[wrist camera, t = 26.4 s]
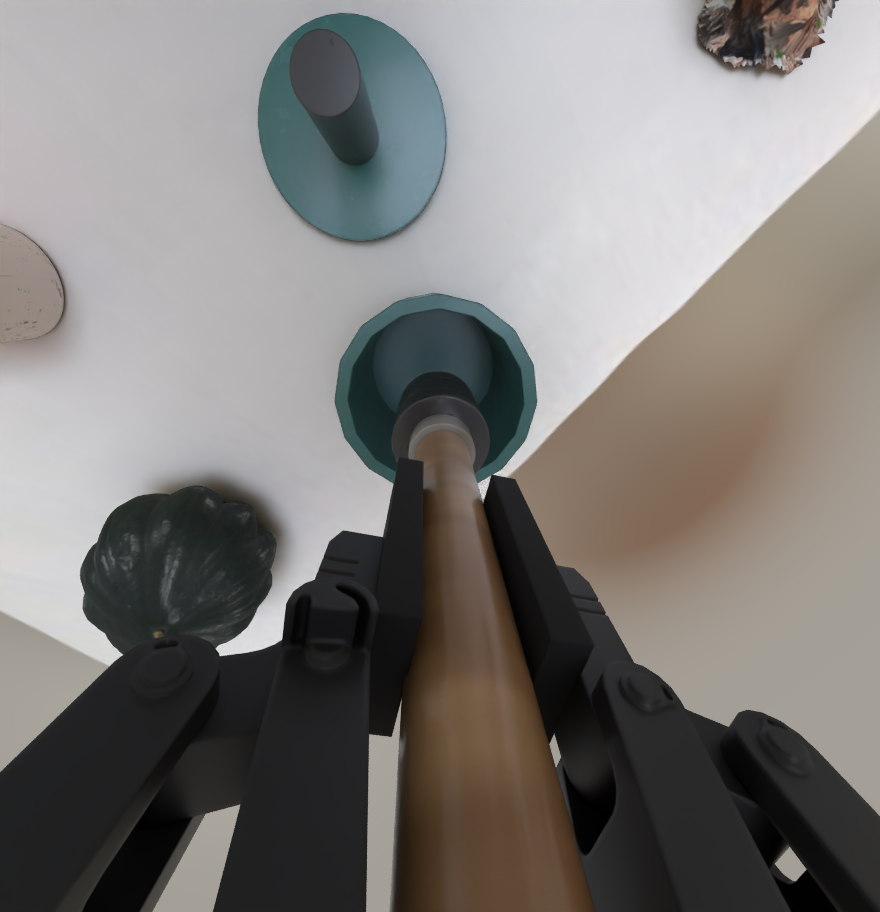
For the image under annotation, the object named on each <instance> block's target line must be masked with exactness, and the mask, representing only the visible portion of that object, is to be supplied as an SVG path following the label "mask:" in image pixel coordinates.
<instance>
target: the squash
mask: <svg viewBox="0 0 880 912" xmlns="http://www.w3.org/2000/svg"><path fill="white" fill-rule="evenodd" d="M276 544H277V543H276V538H275V537H274V535H273V534H272V533H271V532H269V531H268V530H266V529H264V528H261V527H257V517H256V513H255V511H254V509H253V508H252V507H251V506H249V505H247V504H244V503H237V502H228V503H222V502H221V500H220V498H219V496H218V495H217V494H216V493H215V492H213V491H212V490H210V489H208V488H205V487H202V486H190V487H186V488H184V489H181V490H179V491H177V492H175V493H173V494H171V495H168V494H148V495H142V496H138V497H135V498H133V499H131V500H129V501H128V502H126V503H124V504H122V505H120V506H119V507H117V508H116V509H115V510H114V511H113V512H112V513H111V514H110V515H109V517H108V518H107V520H106V522H105V524H104V526H103V528H102V530H101V533H100V535H99V538H98V542H97V543H96V544H94V545H93V546H92V547H91V549H90V550H89V552H88V554H87V556H86V558H85V560H84V562H83V564H82V567H81V570H80V579H81V583H82V586H83V589H84V592H85V594H84V598H83V611H84V613H85V616H86V617H87V619H88V620H89V621H90V622H91V623H92V624H93V625H95V626H96V627H97V628H98V629H99V630H101V631H102V632H104V633H105V634H106V636H107V638H108V640H109V641H110V642H111V644H112V645H113V646H114V647H115V648H117V649H118V650H119V652H120V653H122V654H123V655H124V654H125V653H127V652H128V651H129V650H131V649H132V648H133V647H135V646H138V645H140V644H142V643H145V642H147V641H149V640H152V639H154V638H158V637H163V636H169V635H175V634H182V635H194V636H198V637H200V638H202V639H204V640H206V641H209V642H211V644H212V645H213V646H214V648H216V647H217V646H218V645H220V644H223V643H226V642H228V641H230V640H232V639H233V638H235V637H236V636H238V635H239V634H240V633H241V632H242V631H243V630H245V629H246V628H247V627H248V625H249V624H250V622H251V621H252V619H253V617H254V615H255V613H256V610H257V608H258V606H259V605H260V604H261V603H262V602H263V601H264V599H265V598H266V596H267V595H268V593H269V590H270V588H271V586H272V574H271V571H270V569H271V566H272V563H273V561H274V557H275V552H276Z"/></svg>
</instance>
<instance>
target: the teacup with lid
mask: <svg viewBox="0 0 880 912" xmlns="http://www.w3.org/2000/svg"><path fill="white" fill-rule="evenodd" d="M63 306H64V295H63V289H62V285H61V282H60V279H59V276H58V274H57V272H56V270H55V268H54V266H53V265H52V263H51V262H50V260H49V259H48V258H47V256H46V255H45V254H44V253H43V251H42V250H41V249H40V248H39V247H38V246H37V245H36V244H34V243H33V242H32V241H31V240H30V239H28V238H27V237H26V236H24V235H22V234H21V233H19V232H18V231H16V230H14V229H12V228H10V227H7V226H5V225H2V224H0V343H2V342H10V341H18V340H27V339H33V338H37V337H40V336H42V335H44V334H46V333H48V332H49V331H51V330H52V329H53V328H54V327H55V325H56V324H57V323H58V321H59V319H60V317H61V315H62V311H63Z"/></svg>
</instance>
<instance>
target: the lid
mask: <svg viewBox="0 0 880 912" xmlns="http://www.w3.org/2000/svg"><path fill="white" fill-rule="evenodd" d="M258 128H259V137H260V143H261V147H262V152H263V156H264V159H265V162H266V165H267V168H268V170H269V172H270V174H271V177H272V179H273V181H274V183H275V184H276V186H277V188H278V189H279V191H280V193H281V194H282V196H283V197H284V198H285V200H286V201H287V202H288V204H289V205H290V206H291V207H292V208H293V209H294V210H295V211H296V212H297V213H298V214H299V215H300V216H301V217H302V218H304V219H305V220H306V221H307V222H308V223H310V224H312V225H313V226H315V227H316V228H318V229H319V230H321V231H323V232H326V233H328V234H330V235H332V236H335V237H338V238H342V239H347V240H353V241H368V240H376V239H380V238H383V237H387V236H389V235H391V234H394V233H396V232H398V231H399V230H401V229H402V228H404V227H406V226H407V225H408V224H409V223H411V222H412V221H413V220H414V219H415V218H416V217H417V216H418V215H419V214H420V213H421V212H422V210H423V209H424V208H425V206H426V205H427V203H428V202H429V201H430V199H431V197H432V195H433V193H434V191H435V189H436V187H437V184H438V182H439V179H440V176H441V173H442V169H443V164H444V159H445V151H446V122H445V114H444V109H443V104H442V100H441V97H440V94H439V90H438V87H437V85H436V83H435V81H434V78H433V76H432V74H431V72H430V70H429V69H428V67H427V65H426V63H425V62H424V60H423V59H422V57H421V56H420V55H419V54H418V52H417V51H416V50H415V48H414V47H413V46H412V45H411V44H410V43H409V42H408V41H407V40H406V39H405V38H404V37H403V36H401V35H400V34H399V33H398V32H396V31H395V30H394V29H392V28H390V27H389V26H387V25H385V24H384V23H382V22H380V21H377V20H375V19H372V18H370V17H367V16H362V15H358V14H348V13H339V14H331V15H326V16H323V17H319V18H316V19H314V20H312V21H310V22H308V23H306V24H304V25H303V26H301V27H300V28H298V29H297V30H296V31H294V32H293V33H292V34H291V35H290V36H289V37H288V38H287V39H286V40H285V41H284V42H283V43H282V45H281V46H280V48H279V49H278V50H277V52H276V53H275V55H274V57H273V58H272V60H271V62H270V64H269V66H268V69H267V71H266V74H265V77H264V79H263V83H262V88H261V92H260V97H259V107H258Z"/></svg>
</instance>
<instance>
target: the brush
mask: <svg viewBox="0 0 880 912" xmlns="http://www.w3.org/2000/svg"><path fill="white" fill-rule="evenodd" d="M489 445H490V437H489V431H488V427H487V424H486V422H485V420H484V418H483V416H482V413H481V411H480V409H479V407H478V405H477V403H476V401H475V398H474V396H473V394H472V392H471V390H470V389H469V387H468V386H467V384H466V383H465V382H464V381H463V380H461V379H460V378H459V377H457V376H455V375H453V374H451V373H447V372H442V371H433V372H428V373H424V374H422V375H420V376H418V377H416V378H415V379H413V380H412V381H411V382H410V383H409V384H408V385H407V387H406V388H405V390H404V391H403V393H402V396H401V399H400V403H399V407H398V412H397V416H396V420H395V425H394V429H393V433H392V450H393V454H394V457H395V460H396V462H397V464H398V460H399V457H402V458H407V459H412V460H418V461H423V462H424V477H423V579H422V622H421V625H420V629H419V633H418V637H417V641H416V645H415V649H414V652H413V656H412V660H411V664H410V668H409V671H408V673H407V675H406V676H405V679H404V682H403V688H402V704H401V722H400V739H399V757H398V774H397V775H398V776H397V791H396V809H395V827H394V844H393V862H392V879H391V897H390V912H595V909H594V905H593V901H592V898H591V894H590V891H589V887H588V883H587V880H586V876H585V872H584V869H583V865H582V862H581V858H580V854H579V851H578V847H577V843H576V840H575V836H574V832H573V829H572V825H571V822H570V818H569V814H568V811H567V807H566V803H565V800H564V796H563V792H562V789H561V785H560V782H559V778H558V774H557V771H556V767H555V764H554V760H553V756H552V753H551V749H550V745H549V742H548V738H547V734H546V731H545V727H544V723H543V720H542V716H541V713H540V709H539V705H538V702H537V698H536V694H535V691H534V687H533V684H532V680H531V676H530V673H529V669H528V665H527V662H526V658H525V654H524V651H523V647H522V644H521V640H520V636H519V633H518V629H517V625H516V622H515V618H514V614H513V611H512V607H511V604H510V600H509V596H508V593H507V589H506V585H505V582H504V578H503V575H502V571H501V567H500V564H499V560H498V556H497V553H496V549H495V545H494V542H493V538H492V535H491V531H490V527H489V524H488V520H487V516H486V513H485V509H484V506H483V502H482V498H481V495H480V491H479V487H478V484H477V480H476V476H475V474H476V473H477V471H478V470H479V469H480V468H481V466H482V465H483V463H484V462H485V460H486V457H487V454H488V451H489Z"/></svg>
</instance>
